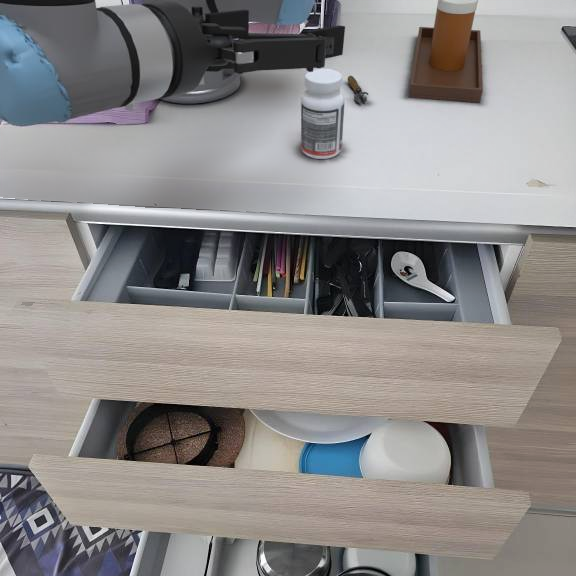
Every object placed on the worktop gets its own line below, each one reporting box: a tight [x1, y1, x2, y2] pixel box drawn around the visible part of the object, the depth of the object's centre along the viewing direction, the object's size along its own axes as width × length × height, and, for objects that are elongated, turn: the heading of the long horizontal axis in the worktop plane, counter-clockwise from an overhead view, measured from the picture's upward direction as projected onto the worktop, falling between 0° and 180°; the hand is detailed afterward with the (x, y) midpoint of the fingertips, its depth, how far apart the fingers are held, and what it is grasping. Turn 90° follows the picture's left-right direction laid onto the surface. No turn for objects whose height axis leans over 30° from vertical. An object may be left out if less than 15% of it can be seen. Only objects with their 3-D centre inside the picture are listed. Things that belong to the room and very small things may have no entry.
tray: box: [407, 26, 484, 104], centre depth 100 cm, size 27×11×2 cm, turn 168°
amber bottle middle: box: [429, 0, 479, 71], centre depth 97 cm, size 6×6×10 cm
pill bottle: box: [300, 68, 345, 160], centre depth 77 cm, size 6×6×10 cm
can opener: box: [347, 75, 369, 104], centre depth 93 cm, size 9×2×1 cm, turn 5°
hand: (291, 31), depth 66 cm, fingers open, 13 cm apart
